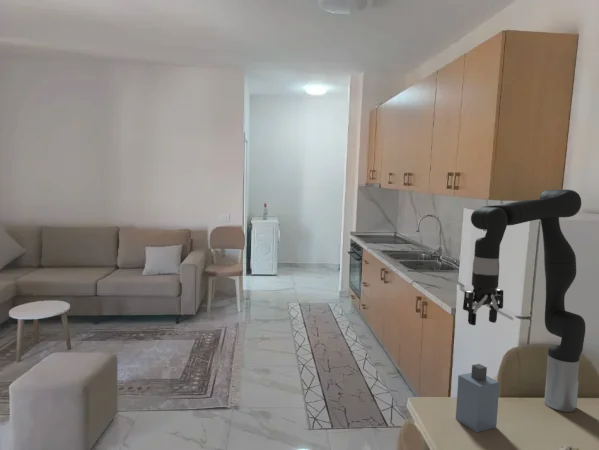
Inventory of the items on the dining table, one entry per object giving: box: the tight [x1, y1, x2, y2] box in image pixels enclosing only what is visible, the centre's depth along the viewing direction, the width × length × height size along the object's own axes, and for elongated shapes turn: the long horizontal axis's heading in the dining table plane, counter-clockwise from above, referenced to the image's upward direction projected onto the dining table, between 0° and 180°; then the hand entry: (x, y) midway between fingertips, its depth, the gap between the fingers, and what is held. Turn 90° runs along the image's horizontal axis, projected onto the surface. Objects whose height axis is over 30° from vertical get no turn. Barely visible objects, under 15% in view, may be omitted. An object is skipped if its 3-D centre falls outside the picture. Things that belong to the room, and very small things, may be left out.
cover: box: [455, 363, 500, 433], centre depth 133 cm, size 8×8×18 cm
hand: (482, 323), depth 132 cm, fingers open, 8 cm apart
